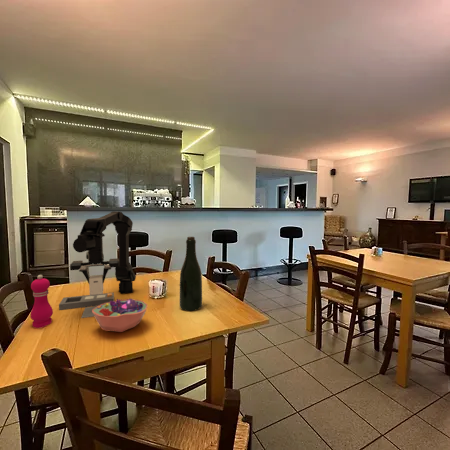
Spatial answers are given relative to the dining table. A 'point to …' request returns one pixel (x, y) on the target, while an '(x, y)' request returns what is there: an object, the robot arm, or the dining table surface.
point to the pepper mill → (41, 303)
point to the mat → (88, 312)
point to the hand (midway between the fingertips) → (96, 283)
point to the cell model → (120, 314)
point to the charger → (96, 284)
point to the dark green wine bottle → (190, 279)
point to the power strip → (85, 301)
